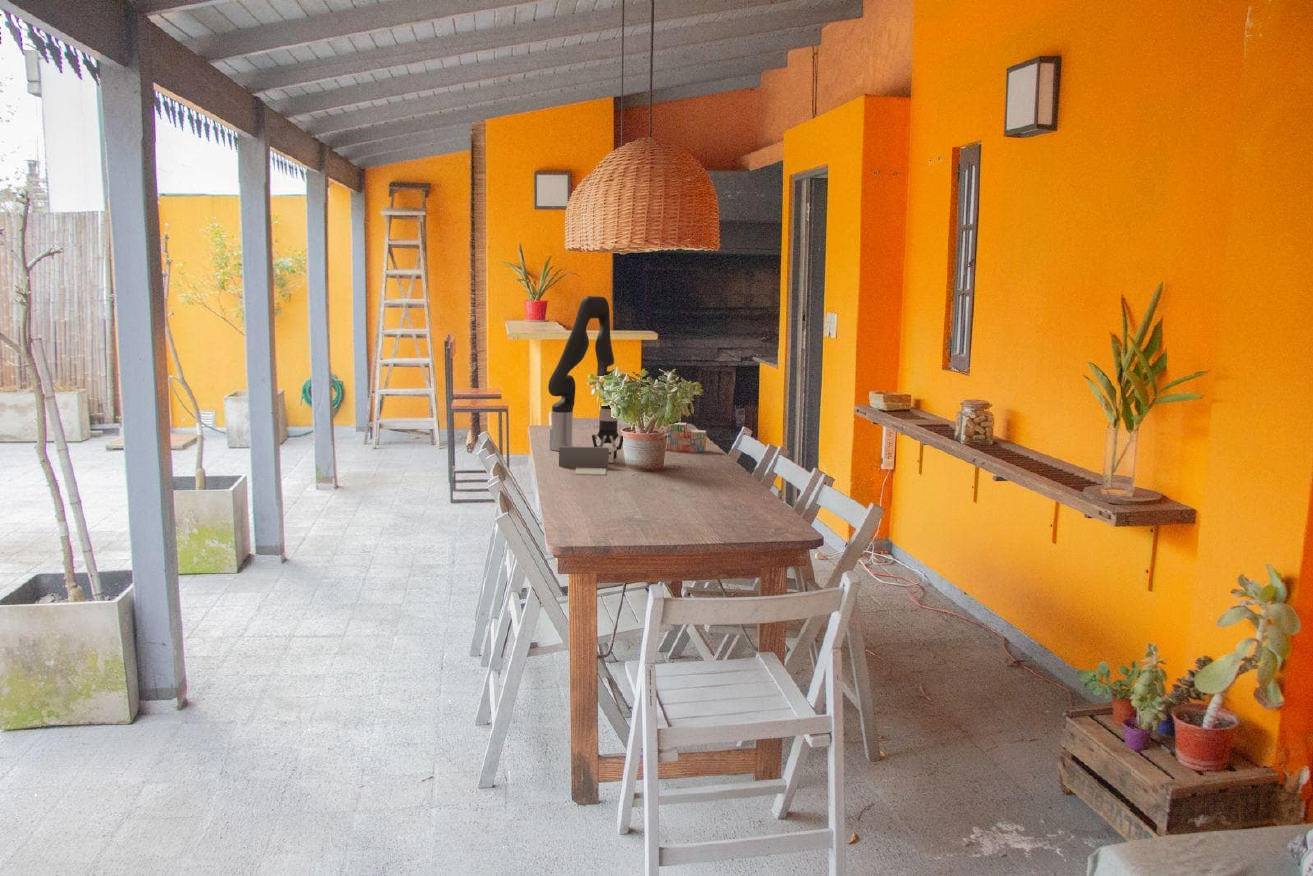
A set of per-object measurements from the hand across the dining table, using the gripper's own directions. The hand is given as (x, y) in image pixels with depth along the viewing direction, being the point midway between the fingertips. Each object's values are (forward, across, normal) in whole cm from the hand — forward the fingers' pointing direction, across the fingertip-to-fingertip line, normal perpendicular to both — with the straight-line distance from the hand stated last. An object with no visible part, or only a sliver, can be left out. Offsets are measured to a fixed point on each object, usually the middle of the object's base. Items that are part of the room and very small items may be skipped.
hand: (607, 458), depth 424 cm
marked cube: (+1, 0, 0) cm, 1 cm away
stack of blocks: (+2, -34, -34) cm, 48 cm away
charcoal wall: (+1, +10, +11) cm, 15 cm away
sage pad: (+1, +7, +22) cm, 23 cm away
